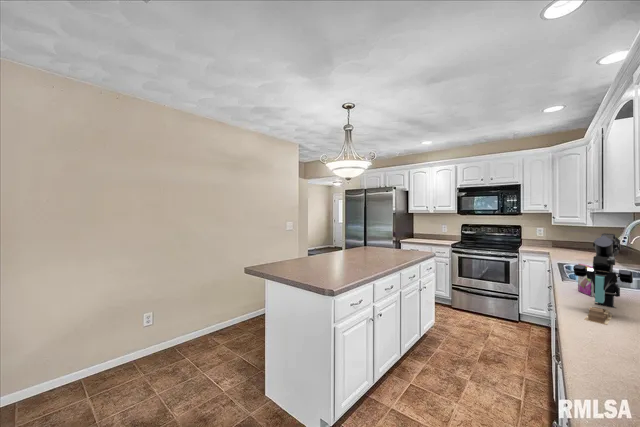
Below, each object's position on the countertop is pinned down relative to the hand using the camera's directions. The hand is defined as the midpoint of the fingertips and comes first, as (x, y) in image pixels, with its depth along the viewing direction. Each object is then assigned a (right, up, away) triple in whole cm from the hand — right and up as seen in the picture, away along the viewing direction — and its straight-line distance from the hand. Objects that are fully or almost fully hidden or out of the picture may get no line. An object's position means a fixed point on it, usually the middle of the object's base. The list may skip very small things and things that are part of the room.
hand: (599, 288), depth 125 cm
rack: (-1, -13, 0) cm, 14 cm away
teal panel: (+1, -6, +1) cm, 6 cm away
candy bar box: (+31, -13, +38) cm, 51 cm away
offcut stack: (-4, -12, -3) cm, 14 cm away
